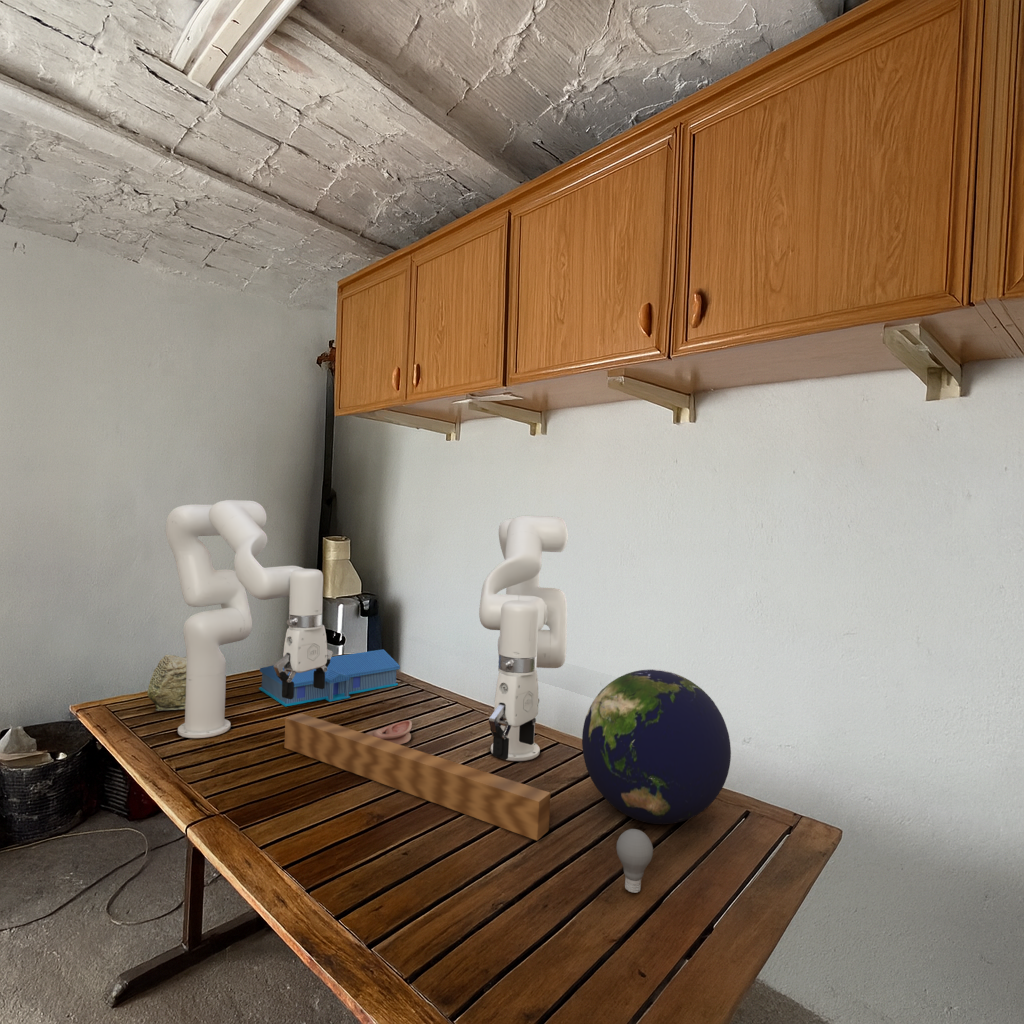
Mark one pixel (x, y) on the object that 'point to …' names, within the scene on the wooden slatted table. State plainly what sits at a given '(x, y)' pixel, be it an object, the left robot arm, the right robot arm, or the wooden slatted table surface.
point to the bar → (423, 775)
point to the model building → (336, 678)
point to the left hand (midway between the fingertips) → (303, 692)
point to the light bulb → (634, 857)
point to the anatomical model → (394, 732)
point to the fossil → (169, 683)
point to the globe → (656, 746)
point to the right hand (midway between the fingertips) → (513, 750)
